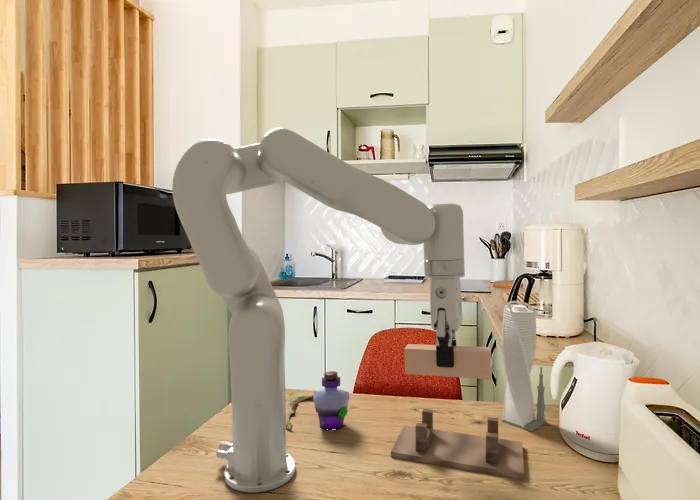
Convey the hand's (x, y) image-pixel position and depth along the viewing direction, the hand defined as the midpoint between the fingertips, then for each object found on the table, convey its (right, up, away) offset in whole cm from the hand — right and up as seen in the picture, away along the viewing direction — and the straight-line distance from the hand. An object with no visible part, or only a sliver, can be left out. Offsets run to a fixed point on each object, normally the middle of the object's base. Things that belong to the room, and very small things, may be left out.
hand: (446, 362), depth 84 cm
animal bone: (-31, -18, +22) cm, 42 cm away
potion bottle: (-23, -18, +14) cm, 32 cm away
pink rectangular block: (0, -2, 0) cm, 2 cm away
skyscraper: (+20, -17, +14) cm, 30 cm away
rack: (+2, -18, +2) cm, 18 cm away
